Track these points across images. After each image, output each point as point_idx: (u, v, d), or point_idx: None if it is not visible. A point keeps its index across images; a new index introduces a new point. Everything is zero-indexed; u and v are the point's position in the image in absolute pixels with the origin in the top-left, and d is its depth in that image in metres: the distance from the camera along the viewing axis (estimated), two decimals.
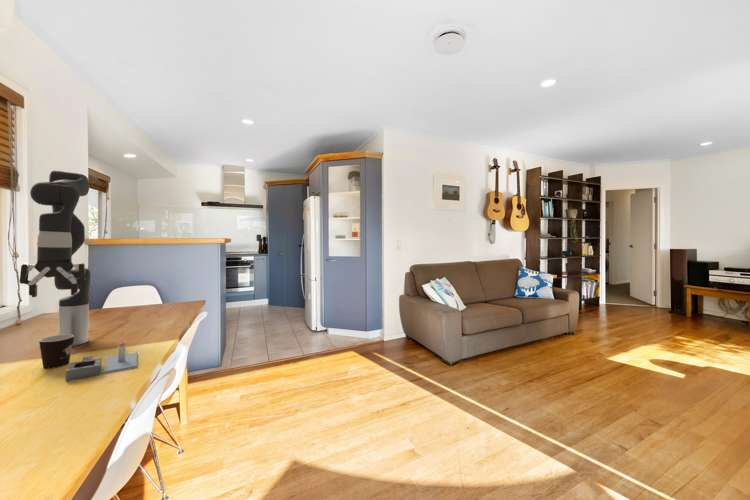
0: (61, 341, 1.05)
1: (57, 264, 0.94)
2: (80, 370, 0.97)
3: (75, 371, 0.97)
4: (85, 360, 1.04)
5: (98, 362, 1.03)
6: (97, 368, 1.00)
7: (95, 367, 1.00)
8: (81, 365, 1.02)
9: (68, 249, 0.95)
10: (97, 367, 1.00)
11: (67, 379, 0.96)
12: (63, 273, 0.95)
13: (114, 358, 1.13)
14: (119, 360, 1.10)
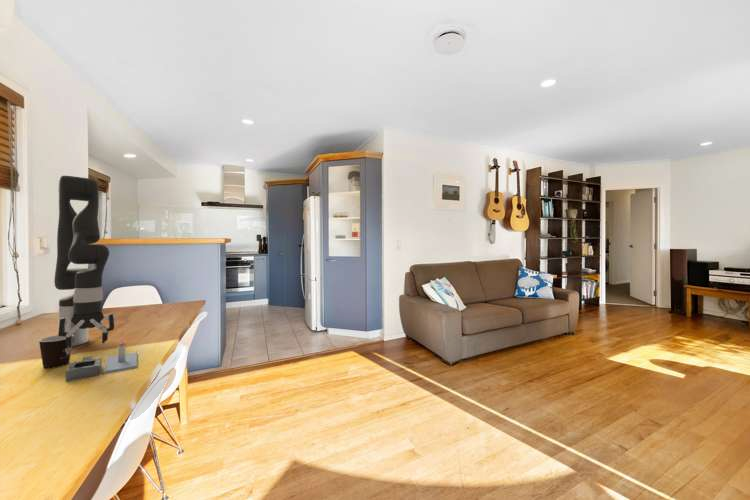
0: (61, 341, 1.05)
1: (90, 316, 1.05)
2: (80, 370, 0.97)
3: (75, 371, 0.97)
4: (85, 360, 1.04)
5: (98, 362, 1.03)
6: (97, 368, 1.00)
7: (95, 367, 1.00)
8: (81, 365, 1.02)
9: (100, 302, 1.06)
10: (97, 367, 1.00)
11: (67, 379, 0.96)
12: (95, 324, 1.05)
13: (114, 358, 1.13)
14: (119, 360, 1.10)
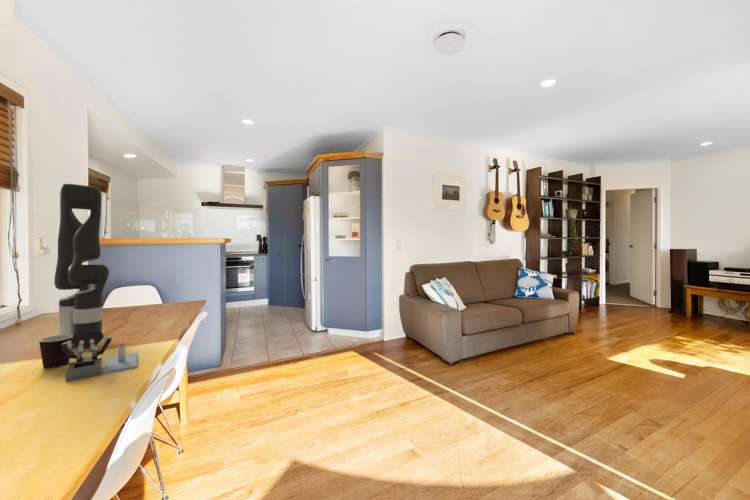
0: (61, 341, 1.05)
1: (90, 336, 1.05)
2: (80, 370, 0.97)
3: (75, 371, 0.97)
4: (85, 360, 1.04)
5: (98, 362, 1.03)
6: (97, 368, 1.00)
7: (95, 367, 1.00)
8: (81, 365, 1.02)
9: (99, 322, 1.06)
10: (97, 367, 1.00)
11: (67, 379, 0.96)
12: (91, 345, 1.05)
13: (114, 358, 1.13)
14: (119, 360, 1.10)
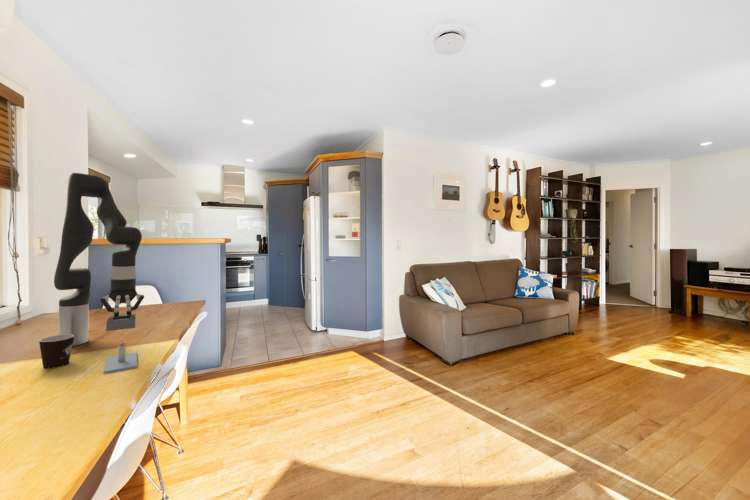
0: (61, 341, 1.05)
1: (125, 292, 1.15)
2: (119, 321, 1.07)
3: (114, 322, 1.06)
4: (121, 315, 1.14)
5: (133, 316, 1.12)
6: (133, 321, 1.10)
7: (131, 320, 1.09)
8: (118, 319, 1.12)
9: (134, 280, 1.16)
10: (133, 320, 1.10)
11: (108, 329, 1.05)
12: (127, 301, 1.15)
13: (114, 358, 1.13)
14: (119, 360, 1.10)
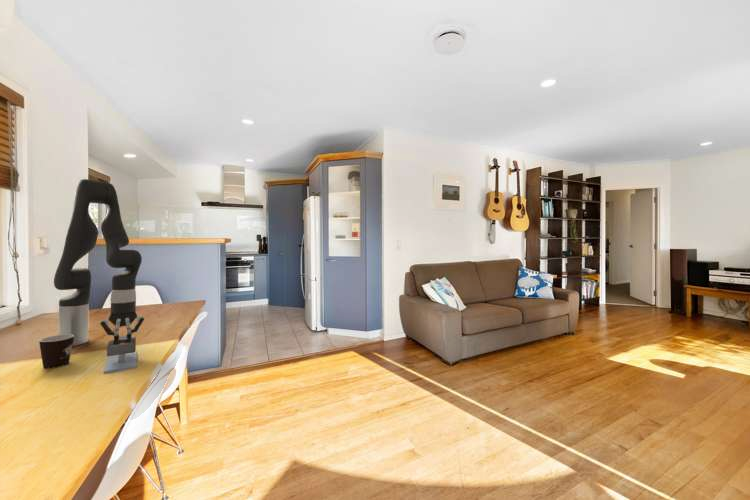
0: (61, 341, 1.05)
1: (125, 315, 1.15)
2: (119, 347, 1.07)
3: (115, 347, 1.07)
4: (121, 338, 1.14)
5: (134, 340, 1.13)
6: (133, 345, 1.10)
7: (132, 344, 1.10)
8: (118, 343, 1.12)
9: (134, 302, 1.16)
10: (133, 344, 1.10)
11: (108, 354, 1.06)
12: (127, 323, 1.15)
13: (114, 358, 1.13)
14: (119, 360, 1.10)
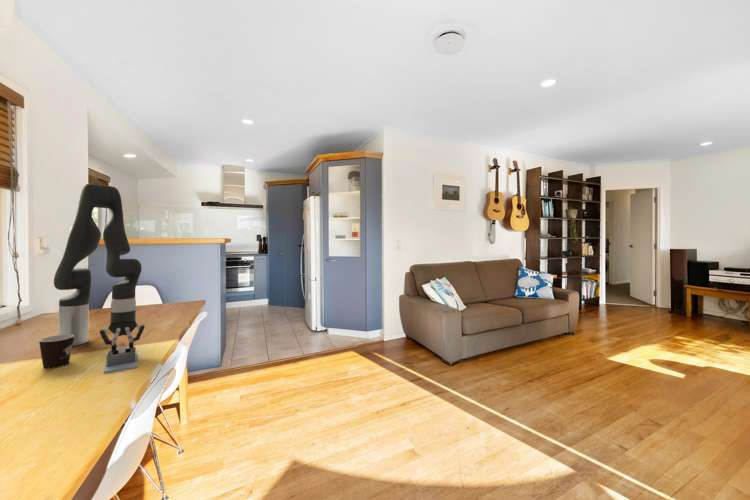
0: (61, 341, 1.05)
1: (125, 324, 1.15)
2: (119, 356, 1.08)
3: (114, 357, 1.07)
4: None
5: (133, 350, 1.13)
6: (133, 355, 1.10)
7: (132, 354, 1.10)
8: None
9: (134, 311, 1.16)
10: (133, 354, 1.10)
11: (108, 365, 1.06)
12: (127, 332, 1.15)
13: None
14: None
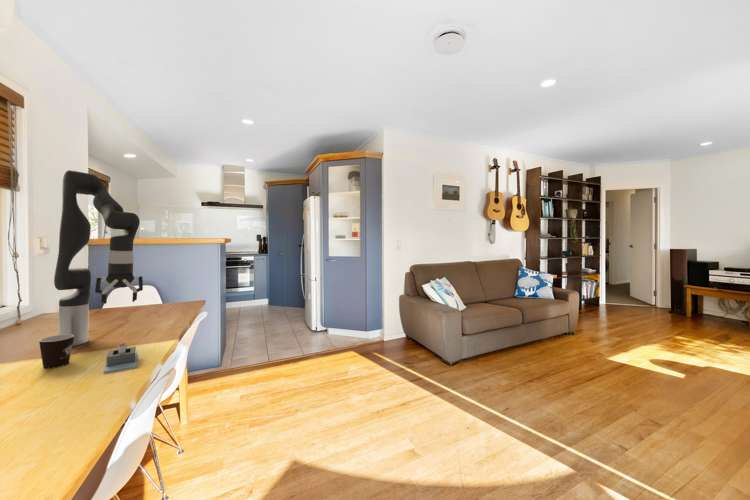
0: (61, 341, 1.05)
1: (122, 276, 1.16)
2: (119, 356, 1.08)
3: (114, 357, 1.07)
4: None
5: (133, 350, 1.13)
6: (133, 355, 1.10)
7: (132, 354, 1.10)
8: None
9: (131, 264, 1.17)
10: (133, 354, 1.10)
11: (108, 365, 1.06)
12: (127, 284, 1.17)
13: None
14: None
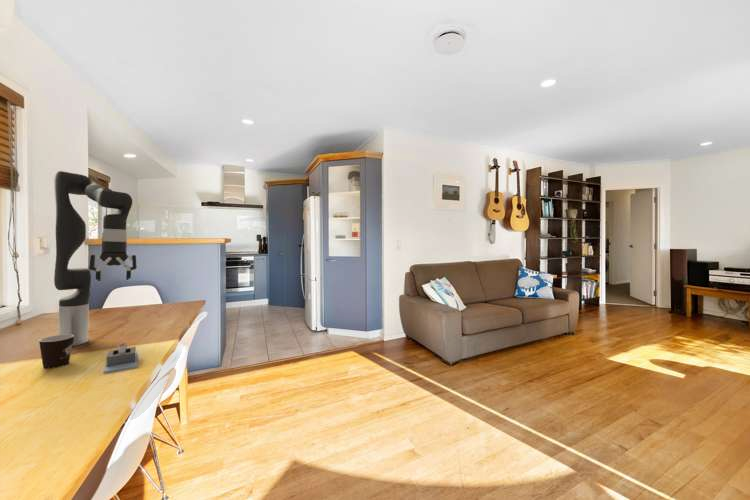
0: (61, 341, 1.05)
1: (116, 254, 1.19)
2: (119, 356, 1.08)
3: (114, 357, 1.07)
4: None
5: (133, 350, 1.13)
6: (133, 355, 1.10)
7: (132, 354, 1.10)
8: None
9: (124, 243, 1.20)
10: (133, 354, 1.10)
11: (108, 365, 1.06)
12: (121, 262, 1.19)
13: None
14: None
